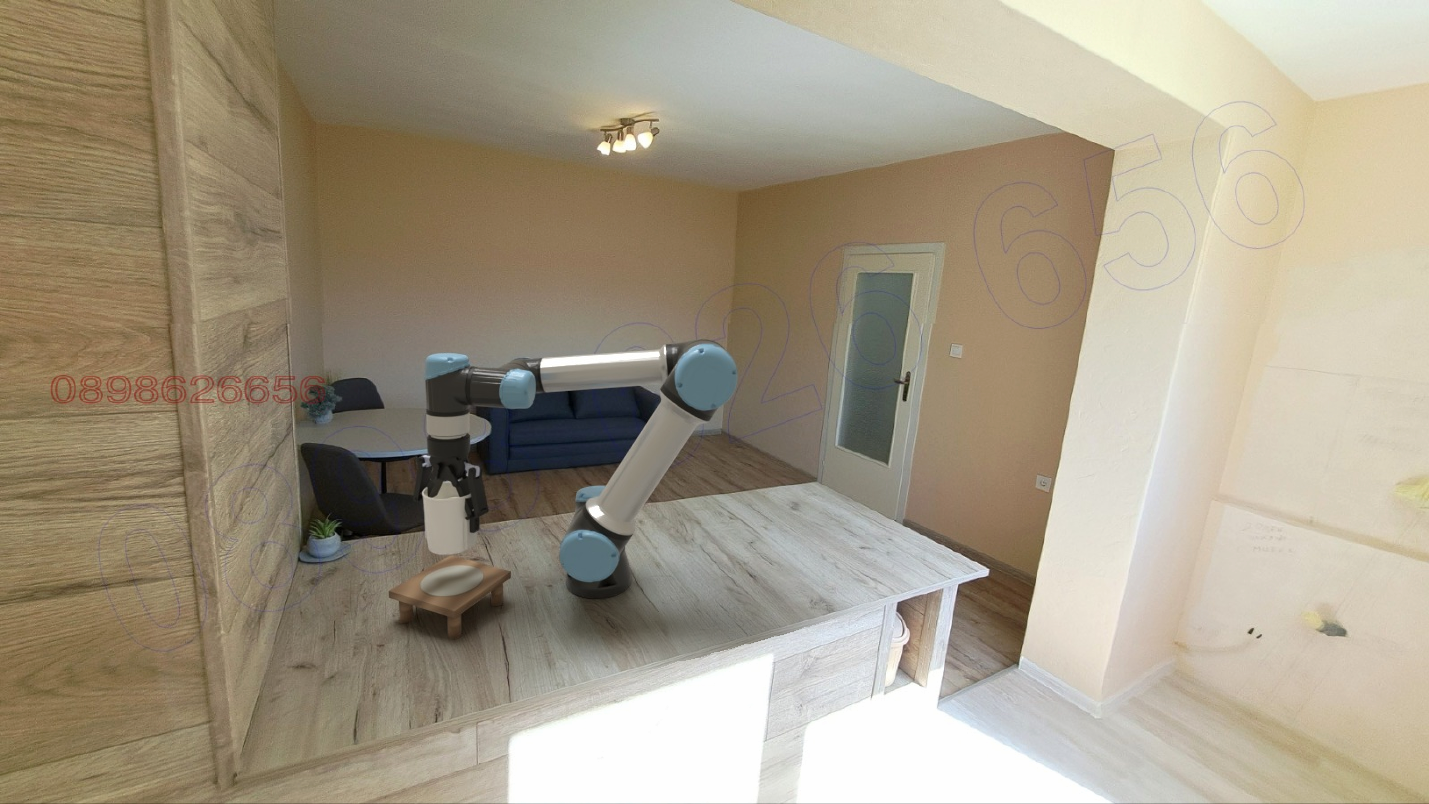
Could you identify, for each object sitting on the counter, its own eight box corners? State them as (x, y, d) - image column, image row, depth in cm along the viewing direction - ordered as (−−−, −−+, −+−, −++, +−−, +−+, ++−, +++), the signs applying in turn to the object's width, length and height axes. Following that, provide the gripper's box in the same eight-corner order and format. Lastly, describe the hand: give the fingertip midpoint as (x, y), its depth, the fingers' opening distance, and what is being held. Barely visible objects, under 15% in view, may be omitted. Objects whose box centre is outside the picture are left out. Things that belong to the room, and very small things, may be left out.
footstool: (510, 600, 117) (511, 570, 116) (455, 644, 102) (454, 610, 101) (451, 583, 122) (451, 554, 121) (390, 622, 107) (388, 589, 106)
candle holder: (412, 552, 105) (410, 494, 103) (446, 531, 115) (445, 478, 112) (456, 561, 104) (455, 502, 101) (487, 539, 113) (487, 485, 110)
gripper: (508, 438, 105) (508, 544, 109) (420, 421, 111) (423, 522, 116) (481, 447, 98) (482, 561, 102) (388, 429, 104) (393, 537, 109)
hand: (451, 540), depth 109 cm, fingers closed on candle holder, 9 cm apart
